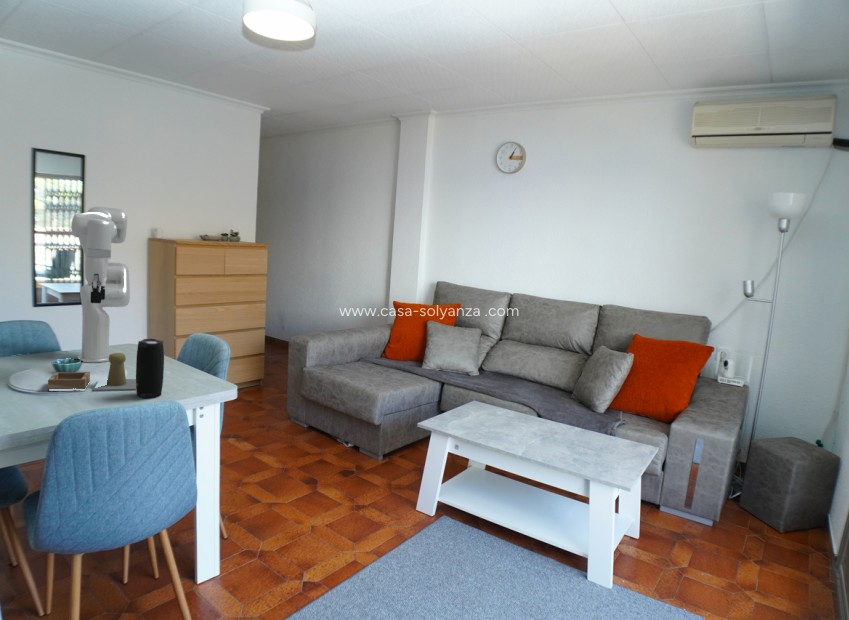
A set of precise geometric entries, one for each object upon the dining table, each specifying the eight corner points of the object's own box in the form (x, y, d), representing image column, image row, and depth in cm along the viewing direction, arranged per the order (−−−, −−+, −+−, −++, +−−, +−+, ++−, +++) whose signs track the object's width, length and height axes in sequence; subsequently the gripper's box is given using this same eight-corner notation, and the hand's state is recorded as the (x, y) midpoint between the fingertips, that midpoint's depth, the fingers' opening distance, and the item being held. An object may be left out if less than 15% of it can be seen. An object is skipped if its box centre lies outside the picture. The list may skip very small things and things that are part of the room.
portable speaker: (136, 400, 178) (138, 343, 176) (134, 392, 186) (135, 338, 184) (164, 398, 183) (166, 342, 180) (161, 390, 190) (162, 337, 188)
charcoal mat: (98, 381, 195) (98, 379, 195) (138, 380, 200) (138, 379, 200) (92, 391, 183) (92, 389, 183) (135, 390, 188) (135, 388, 188)
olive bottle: (103, 383, 190) (103, 353, 189) (119, 380, 196) (120, 350, 194) (113, 387, 188) (114, 356, 186) (130, 384, 193) (130, 353, 192)
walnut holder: (54, 383, 188) (55, 372, 187) (89, 383, 192) (90, 372, 191) (47, 392, 178) (48, 380, 178) (84, 391, 182) (84, 379, 182)
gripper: (90, 252, 201) (89, 297, 203) (82, 254, 185) (81, 304, 187) (113, 253, 204) (112, 298, 206) (107, 256, 188) (106, 305, 191)
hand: (97, 301), depth 197 cm, fingers open, 9 cm apart
